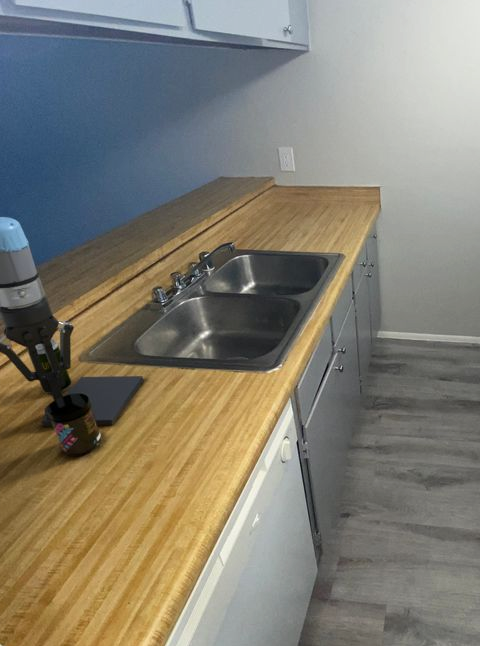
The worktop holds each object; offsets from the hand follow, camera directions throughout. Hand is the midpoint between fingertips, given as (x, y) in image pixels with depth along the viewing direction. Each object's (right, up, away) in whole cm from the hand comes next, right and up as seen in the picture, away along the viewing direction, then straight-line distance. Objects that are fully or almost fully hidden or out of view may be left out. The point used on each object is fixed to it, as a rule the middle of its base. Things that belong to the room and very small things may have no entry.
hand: (59, 400), depth 100 cm
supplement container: (+9, -8, -5) cm, 13 cm away
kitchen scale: (+4, -1, +7) cm, 8 cm away
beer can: (-8, +1, +11) cm, 14 cm away
